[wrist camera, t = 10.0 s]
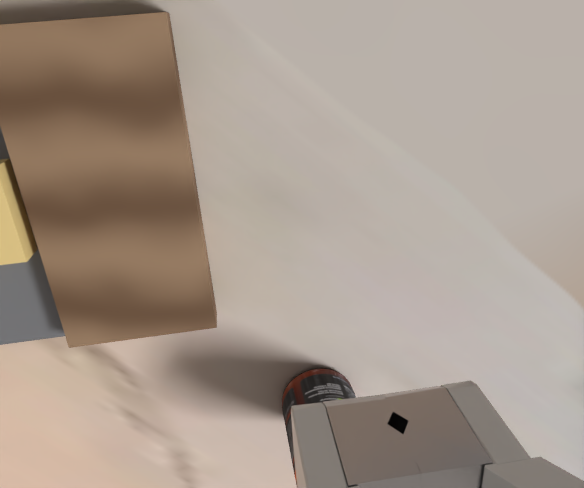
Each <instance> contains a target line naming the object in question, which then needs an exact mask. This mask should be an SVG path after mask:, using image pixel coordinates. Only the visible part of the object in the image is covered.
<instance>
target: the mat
mask: <svg viewBox="0 0 584 488" xmlns="http://www.w3.org/2000/svg"><path fill="white" fill-rule="evenodd" d="M1 159H10V156H9V153H8V149H7V146H6V143H5V140H4V137H3V133H2V130H1V127H0V160H1ZM10 161H11V159H10ZM11 164H12V162H11ZM12 168H13V166H12ZM13 171H14V169H13ZM14 174H15V172H14ZM15 177H16V175H15ZM16 181H17V178H16ZM17 184H18V182H17ZM18 187H19V185H18ZM19 190H20V188H19ZM20 193H21V191H20ZM21 197H22V195H21ZM22 200H23V198H22ZM23 203H24V201H23ZM24 206H25V204H24ZM25 209H26V207H25ZM26 213H27V211H26ZM27 216H28V214H27ZM28 219H29V217H28ZM29 222H30V220H29ZM30 225H31V224H30ZM31 229H32V227H31ZM32 232H33V230H32ZM33 235H34V233H33ZM34 238H35V236H34ZM35 241H36V240H35ZM36 245H37V243H36ZM37 248H38V246H37ZM61 336H65V333H64V330H63V327H62V323H61V320H60V317H59V314H58V311H57V307H56V304H55V301H54V298H53V294H52V291H51V288H50V285H49V282H48V278H47V275H46V272H45V269H44V265H43V262H42V259H41V256H40V253H39V249H37V251H36V252H35V253H34V254H33V255H32V256H31V258H30V259H29V260H28V261H27V262H22V263H14V264H6V265H0V345H2V344H9V343H17V342H24V341H32V340H39V339H46V338H54V337H61Z"/></svg>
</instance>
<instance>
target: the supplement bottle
mask: <svg viewBox="0 0 584 488" xmlns="http://www.w3.org/2000/svg"><path fill="white" fill-rule="evenodd" d="M349 398H356V397H355V393H354V391H353V389H352V387H351V385H350V383H349V381H348V380H347V379H346V378H345V377H344V376H343V375H342V374H340V373H338V372H336V371H334V370H330V369H313V370H309V371H306V372H304V373H302V374H300V375H299V376H297V377H296V378H294V379H293V380H292V381H291V382H290V383H289V384H288V386H287V387H286V389H285V391H284V394H283V398H282V408H283V416H284V420H285V425H286V431H287V436H288V442H289V447H290V452H291V458H292V463H293V468H294V474H295V479H296V470H295V461H294V448H293V434H292V420H291V407H292V406H294V405H303V404H312V403H321V402H322V403H323V401H332V400H341V399H349ZM296 484H297V479H296Z"/></svg>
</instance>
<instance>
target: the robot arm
mask: <svg viewBox="0 0 584 488" xmlns="http://www.w3.org/2000/svg"><path fill="white" fill-rule="evenodd" d="M291 420H292V434H293V448H294V461H295V470H296V479H297V488H584V481H583V480H581V479H579V478H577V477H576V476H574V475H572V474H570V473H568V472H567V471H565V470H563V469H561V468H560V467H558V466H556V465H554V464H552V463H551V462H549V461H547V460H545V459H543V458H542V457H536V458H530V456H529V455H528V454H527V452H526V451H525V449H524V448H523V447H522V445H521V444H520V443H519V441H518V440H517V439H516V437H515V436H514V434H513V433H512V432H511V430H510V429H509V428H508V426H507V425H506V424H505V422H504V421H503V419H502V418H501V417H500V415H499V414H498V413H497V411H496V410H495V409H494V407H493V406H492V404H491V403H490V402H489V400H488V399H487V398H486V396H485V395H484V394H483V392H482V391H481V390H480V388H479V387H478V385H477V384H475V383H474V382H472V381H465V382H459V383H452V384H446V385H441V386H435V387H429V388H422V389H415V390H409V391H402V392H395V393H389V394H382V395H375V396H366V397H358V398H349V399H341V400H332V401H323V403H322V402H321V403H312V404H303V405H294V406H292V407H291Z"/></svg>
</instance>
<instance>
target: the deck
mask: <svg viewBox="0 0 584 488" xmlns="http://www.w3.org/2000/svg"><path fill="white" fill-rule="evenodd" d="M0 127H1V130H2V133H3V137H4V140H5V143H6V146H7V149H8V153H9V156H10V159H11V162H12V166H13V169H14V172H15V175H16V178H17V182H18V185H19V188H20V191H21V195H22V198H23V201H24V204H25V207H26V211H27V214H28V217H29V220H30V224H31V227H32V230H33V233H34V236H35V240H36V243H37V246H38V249H39V253H40V256H41V259H42V262H43V265H44V269H45V272H46V275H47V278H48V282H49V285H50V288H51V291H52V294H53V298H54V301H55V304H56V307H57V311H58V314H59V317H60V320H61V323H62V327H63V330H64V333H65V336H66V340H67V343H68V346H69V348H71V347H78V346H85V345H93V344H100V343H107V342H115V341H122V340H129V339H136V338H144V337H151V336H158V335H166V334H173V333H180V332H187V331H195V330H202V329H209V328H217V312H216V305H215V299H214V293H213V286H212V280H211V274H210V267H209V261H208V255H207V249H206V242H205V236H204V230H203V223H202V217H201V211H200V205H199V198H198V192H197V186H196V179H195V173H194V167H193V161H192V154H191V148H190V142H189V135H188V129H187V123H186V116H185V110H184V104H183V98H182V91H181V85H180V79H179V72H178V66H177V60H176V54H175V47H174V41H173V35H172V28H171V22H170V16H169V13H167V12H159V13H146V14H133V15H119V16H106V17H93V18H80V19H67V20H54V21H41V22H28V23H15V24H2V25H0Z"/></svg>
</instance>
